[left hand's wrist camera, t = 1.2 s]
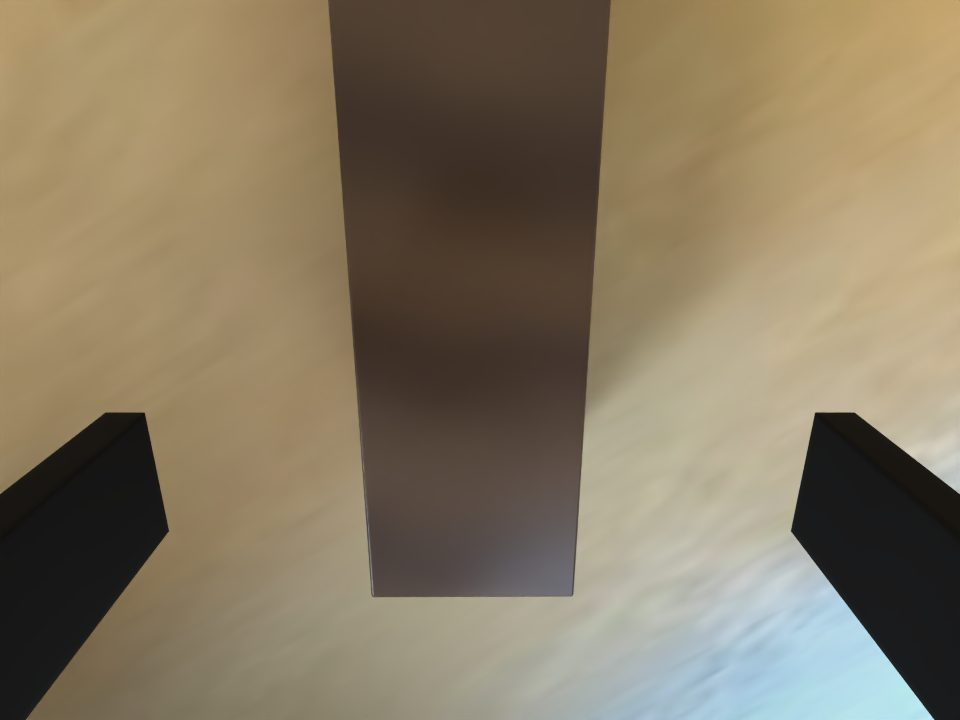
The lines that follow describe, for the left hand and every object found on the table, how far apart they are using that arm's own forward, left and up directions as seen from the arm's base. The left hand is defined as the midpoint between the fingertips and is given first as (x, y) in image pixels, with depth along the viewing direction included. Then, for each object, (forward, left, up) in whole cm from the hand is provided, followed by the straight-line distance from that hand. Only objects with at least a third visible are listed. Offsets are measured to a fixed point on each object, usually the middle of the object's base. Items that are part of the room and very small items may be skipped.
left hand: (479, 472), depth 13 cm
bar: (+16, +18, -11) cm, 26 cm away
